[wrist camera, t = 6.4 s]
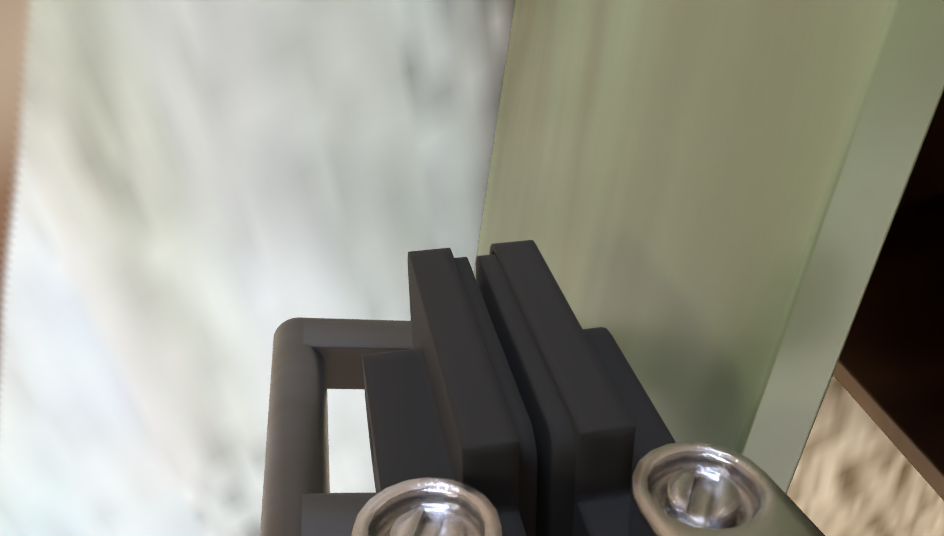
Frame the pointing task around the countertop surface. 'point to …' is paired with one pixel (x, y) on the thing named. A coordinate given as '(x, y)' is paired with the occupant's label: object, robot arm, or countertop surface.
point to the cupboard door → (672, 213)
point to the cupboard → (906, 321)
